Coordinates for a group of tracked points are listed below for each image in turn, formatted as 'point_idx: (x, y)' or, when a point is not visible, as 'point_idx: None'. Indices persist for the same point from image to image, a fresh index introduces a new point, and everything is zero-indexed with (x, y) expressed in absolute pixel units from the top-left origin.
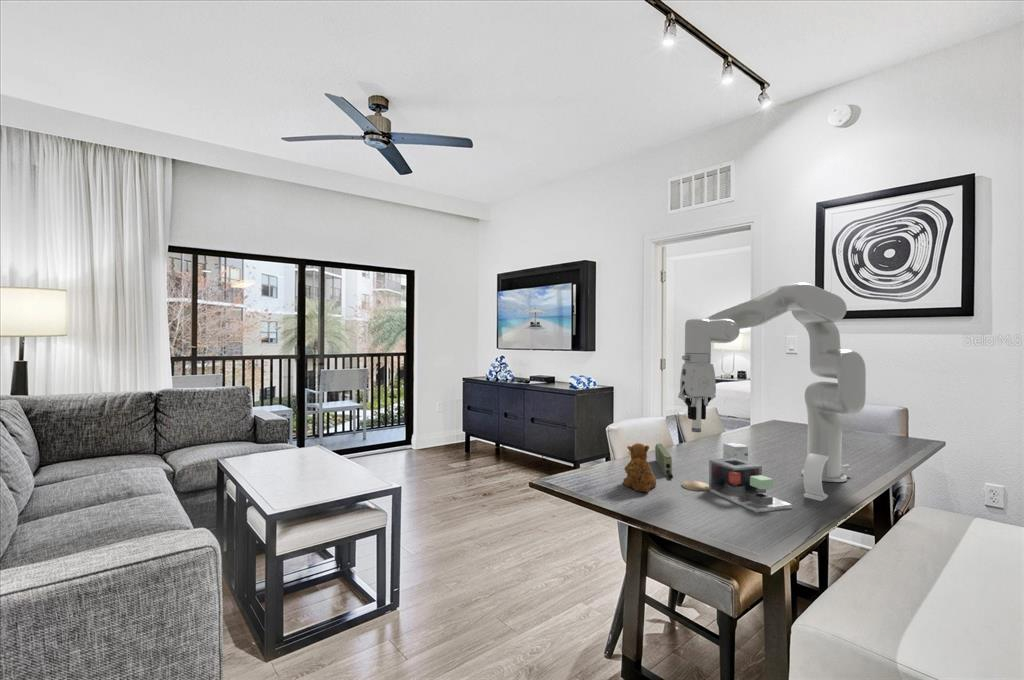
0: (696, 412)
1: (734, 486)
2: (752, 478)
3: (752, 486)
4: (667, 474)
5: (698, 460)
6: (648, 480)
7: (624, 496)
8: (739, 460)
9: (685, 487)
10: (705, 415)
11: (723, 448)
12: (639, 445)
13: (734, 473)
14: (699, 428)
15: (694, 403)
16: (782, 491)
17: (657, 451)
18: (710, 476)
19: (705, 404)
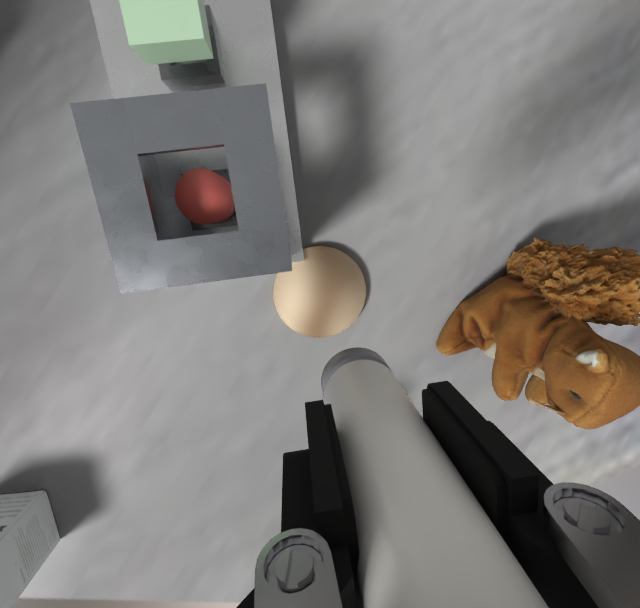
0: (437, 450)
1: (229, 177)
2: (202, 22)
3: (150, 167)
4: None
5: (139, 571)
6: (546, 251)
7: (600, 233)
8: (138, 233)
9: (364, 282)
10: (310, 423)
11: (19, 594)
12: (636, 375)
13: (213, 182)
14: (357, 359)
15: (583, 539)
16: (12, 193)
17: None
18: (290, 252)
19: (312, 562)
